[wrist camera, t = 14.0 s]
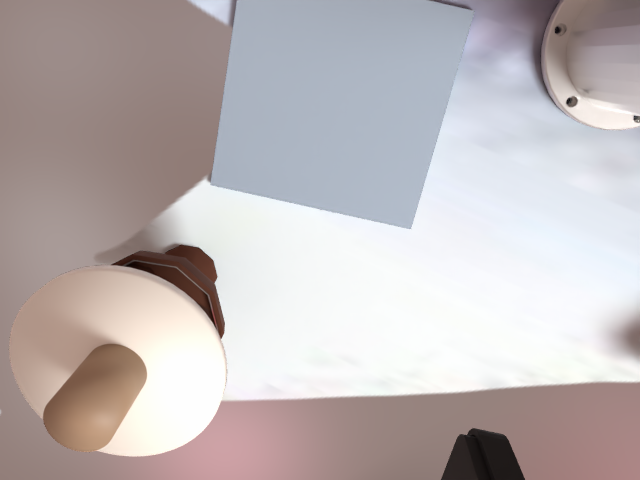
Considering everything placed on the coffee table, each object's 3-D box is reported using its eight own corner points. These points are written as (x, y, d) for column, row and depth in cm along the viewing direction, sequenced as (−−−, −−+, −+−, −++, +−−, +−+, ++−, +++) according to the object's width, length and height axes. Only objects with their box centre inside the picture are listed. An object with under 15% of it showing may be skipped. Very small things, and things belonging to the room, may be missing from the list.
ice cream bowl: (108, 249, 48) (8, 330, 34) (209, 198, 46) (147, 261, 32) (169, 339, 51) (101, 448, 37) (266, 295, 49) (234, 392, 34)
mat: (473, 11, 39) (474, 10, 39) (410, 227, 46) (410, 229, 45) (244, -42, 39) (243, -44, 39) (211, 183, 45) (210, 184, 45)
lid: (241, 290, 32) (219, 341, 26) (212, 462, 37) (188, 537, 31) (18, 244, 31) (-54, 286, 26) (18, 424, 36) (-42, 492, 31)
